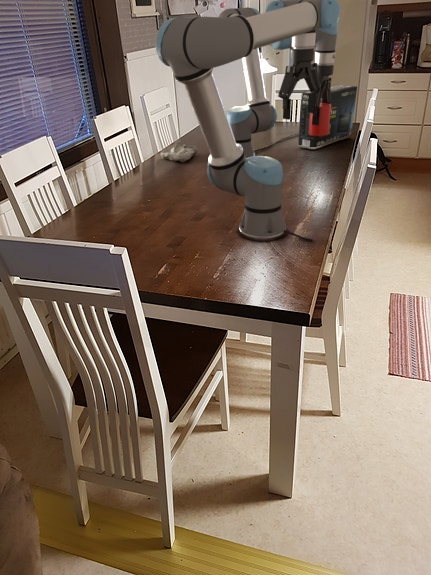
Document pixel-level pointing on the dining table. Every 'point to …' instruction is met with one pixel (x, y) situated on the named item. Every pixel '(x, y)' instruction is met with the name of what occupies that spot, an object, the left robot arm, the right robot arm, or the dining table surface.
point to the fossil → (179, 152)
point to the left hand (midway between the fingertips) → (319, 122)
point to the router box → (339, 116)
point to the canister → (321, 121)
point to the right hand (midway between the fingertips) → (299, 115)
